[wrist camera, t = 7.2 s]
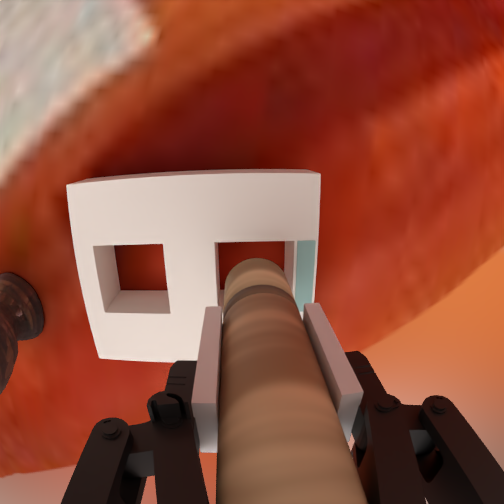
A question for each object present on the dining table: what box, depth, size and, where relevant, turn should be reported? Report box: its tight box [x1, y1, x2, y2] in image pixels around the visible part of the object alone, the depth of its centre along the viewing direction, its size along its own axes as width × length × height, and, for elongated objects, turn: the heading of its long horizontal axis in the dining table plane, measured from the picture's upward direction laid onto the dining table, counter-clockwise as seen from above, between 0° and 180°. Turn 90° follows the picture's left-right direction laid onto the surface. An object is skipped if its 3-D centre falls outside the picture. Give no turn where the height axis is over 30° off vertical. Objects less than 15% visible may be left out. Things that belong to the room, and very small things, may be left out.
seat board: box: [66, 169, 321, 362], centre depth 23 cm, size 14×17×4 cm
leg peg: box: [216, 258, 368, 504], centre depth 12 cm, size 4×4×18 cm
